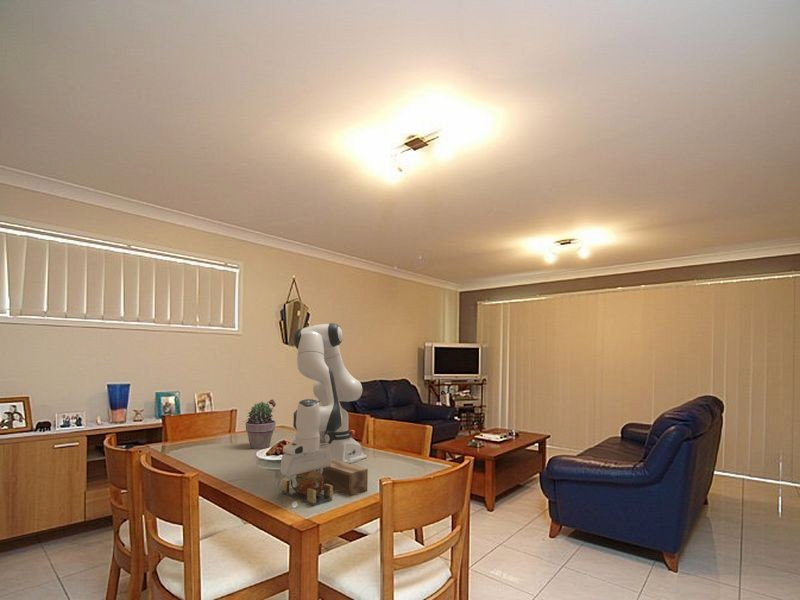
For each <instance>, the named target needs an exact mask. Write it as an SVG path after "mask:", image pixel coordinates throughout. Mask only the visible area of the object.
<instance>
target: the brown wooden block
mask: <svg viewBox="0 0 800 600" xmlns="http://www.w3.org/2000/svg"><path fill="white" fill-rule="evenodd" d="M315 471H317V470H315ZM368 472H369V471H368V468H365V467H362V466H359V465H355V464H353V463H350V464H349V463H345V462H341V461H338V460H334V459H331V465H330V467H326V468H323V472H322V476H323V479H324V484H330V485H332V486H333V491H337V492H340V493H343V494H345V495H349V496H354V495H359V494H361V493H364V492H367V491H368V478H369V477H368V474H369V473H368Z"/></svg>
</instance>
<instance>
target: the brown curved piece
mask: <svg viewBox="0 0 800 600" xmlns="http://www.w3.org/2000/svg"><path fill="white" fill-rule="evenodd" d="M295 479H296V481H298V482H299V484H298V485H299V486H298V487H295V488H294V487H293V486H292V485H293V482H292V480H291V479H290V484H291V487H292V488H293V489H294V491H296V492H298V493H302V494H306V495H307V489H309V488H312V489H314V490H316V495H317V494H319V493H322V491H324V479H323V476H322V474H321V473H320V472H318V471H316V470H313V471H309V472H305V473H301V474H297V475H296V478H295Z"/></svg>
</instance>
